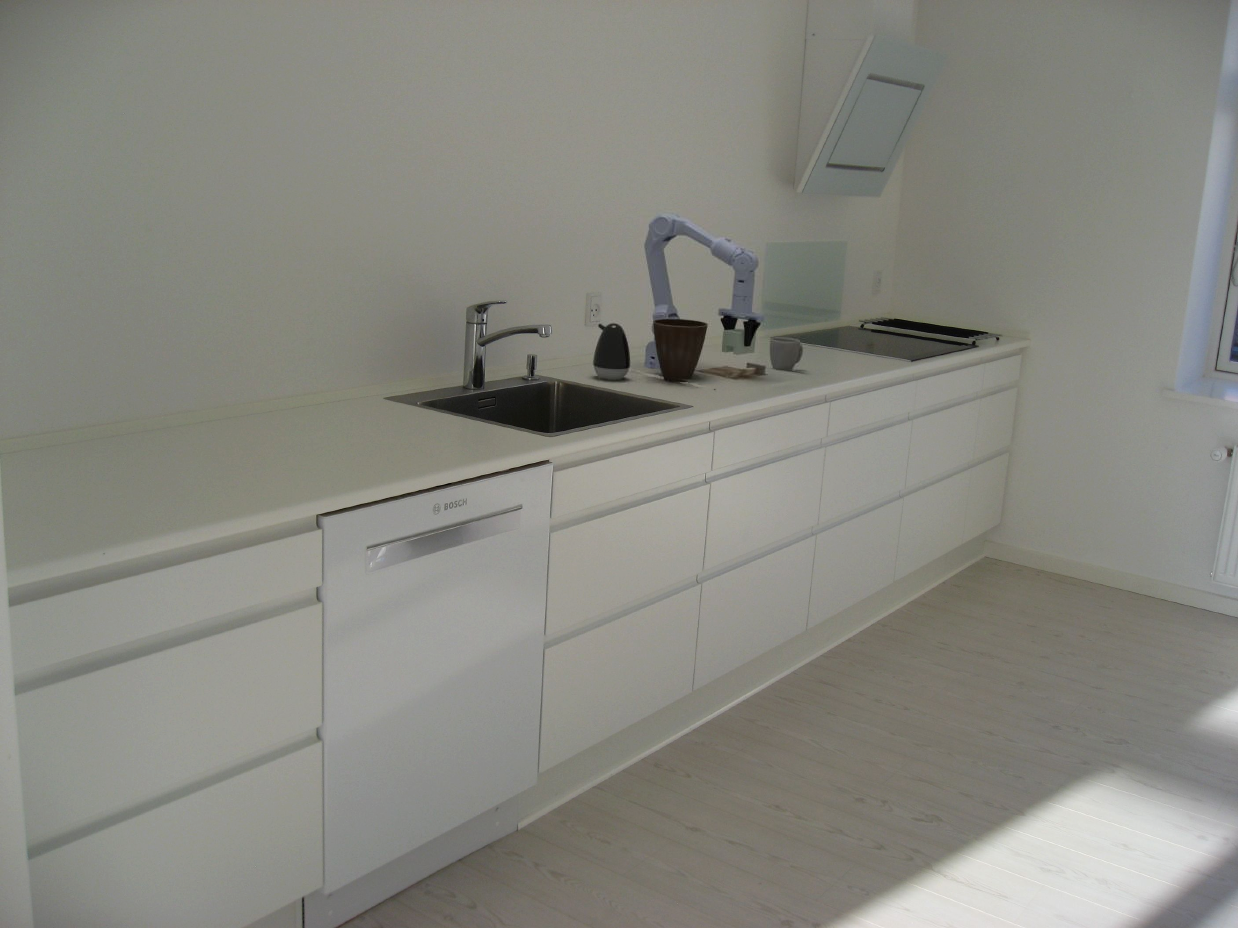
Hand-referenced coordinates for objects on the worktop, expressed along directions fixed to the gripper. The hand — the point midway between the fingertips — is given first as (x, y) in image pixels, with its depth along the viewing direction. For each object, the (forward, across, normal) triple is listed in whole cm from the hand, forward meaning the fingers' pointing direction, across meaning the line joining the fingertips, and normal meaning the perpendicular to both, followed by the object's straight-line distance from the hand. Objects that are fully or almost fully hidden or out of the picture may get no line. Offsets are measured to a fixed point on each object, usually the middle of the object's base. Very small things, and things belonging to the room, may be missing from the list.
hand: (738, 344), depth 315 cm
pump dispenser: (+10, +20, +31) cm, 38 cm away
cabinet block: (+2, 0, 0) cm, 2 cm away
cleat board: (+10, +4, -3) cm, 11 cm away
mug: (+10, 0, -25) cm, 27 cm away
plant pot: (+10, +8, +16) cm, 21 cm away
